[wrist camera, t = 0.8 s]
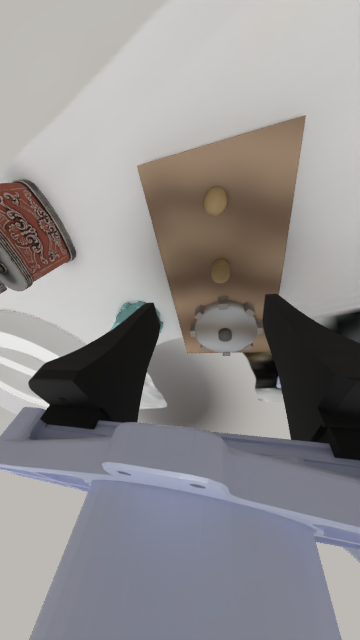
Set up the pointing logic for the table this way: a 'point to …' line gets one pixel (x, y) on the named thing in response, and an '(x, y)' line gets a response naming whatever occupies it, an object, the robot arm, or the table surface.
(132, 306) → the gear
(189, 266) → the board
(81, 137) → the table surface
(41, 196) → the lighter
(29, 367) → the ring with crossbar
